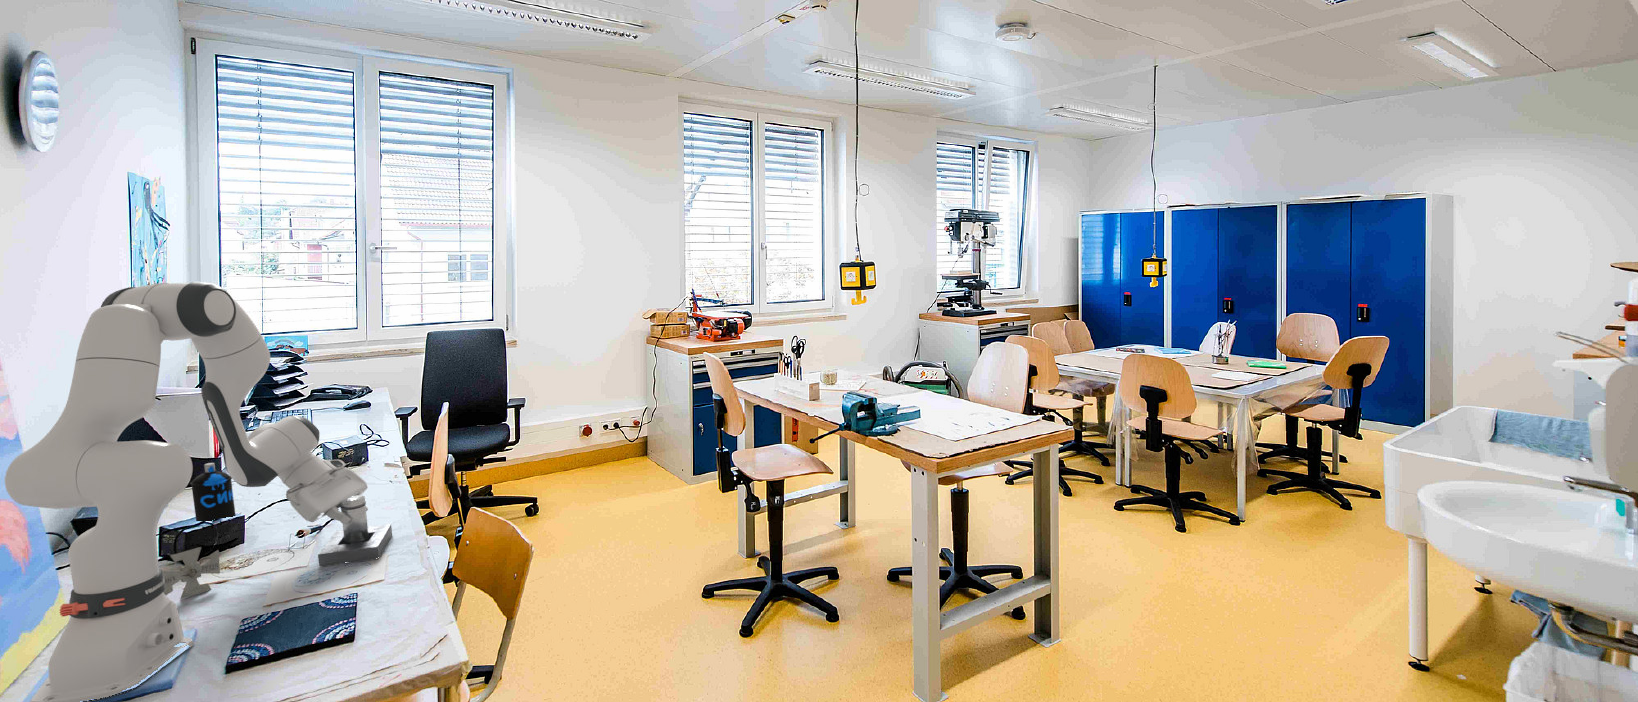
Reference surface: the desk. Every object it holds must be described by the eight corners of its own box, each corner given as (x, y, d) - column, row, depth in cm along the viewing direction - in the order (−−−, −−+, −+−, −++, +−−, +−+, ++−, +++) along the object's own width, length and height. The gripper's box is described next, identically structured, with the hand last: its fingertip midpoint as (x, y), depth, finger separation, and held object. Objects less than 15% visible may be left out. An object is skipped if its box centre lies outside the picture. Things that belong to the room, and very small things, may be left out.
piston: (366, 540, 178) (362, 500, 177) (341, 544, 177) (337, 503, 175) (371, 533, 183) (367, 494, 182) (346, 536, 181) (342, 496, 180)
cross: (219, 584, 162) (213, 540, 161) (225, 586, 161) (220, 542, 160) (160, 604, 153) (154, 557, 152) (166, 606, 152) (160, 560, 151)
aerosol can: (191, 543, 186) (181, 466, 184) (229, 532, 194) (220, 457, 191) (207, 549, 182) (197, 470, 180) (246, 537, 190) (236, 461, 187)
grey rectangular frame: (378, 558, 175) (377, 546, 174) (319, 566, 171) (317, 554, 170) (392, 535, 190) (391, 524, 189) (337, 542, 186) (336, 530, 185)
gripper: (290, 482, 167) (339, 523, 169) (345, 457, 187) (388, 494, 189) (272, 502, 167) (321, 542, 169) (329, 475, 188) (372, 511, 189)
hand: (357, 517), depth 179 cm, fingers closed on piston, 5 cm apart
